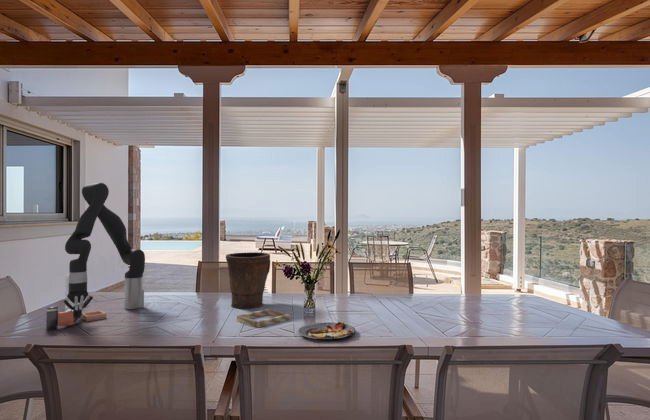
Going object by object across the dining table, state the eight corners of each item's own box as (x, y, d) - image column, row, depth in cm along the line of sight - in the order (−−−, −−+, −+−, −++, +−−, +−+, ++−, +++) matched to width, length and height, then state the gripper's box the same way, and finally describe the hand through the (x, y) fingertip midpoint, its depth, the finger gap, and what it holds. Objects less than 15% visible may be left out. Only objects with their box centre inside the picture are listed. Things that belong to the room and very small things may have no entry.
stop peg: (56, 327, 181) (56, 305, 181) (59, 329, 178) (59, 307, 178) (45, 329, 178) (45, 307, 178) (47, 331, 175) (47, 308, 175)
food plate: (352, 326, 183) (352, 318, 183) (358, 342, 160) (358, 333, 160) (299, 328, 182) (299, 320, 182) (297, 344, 159) (297, 336, 159)
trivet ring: (268, 313, 208) (268, 308, 208) (290, 319, 196) (290, 314, 196) (235, 320, 193) (235, 315, 193) (257, 327, 180) (257, 322, 180)
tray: (100, 315, 204) (100, 310, 204) (106, 318, 197) (106, 313, 197) (80, 318, 197) (80, 313, 197) (86, 321, 191) (86, 316, 191)
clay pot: (282, 302, 234) (282, 252, 234) (248, 312, 209) (248, 256, 210) (251, 297, 247) (251, 250, 248) (216, 306, 223) (216, 254, 223)
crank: (66, 319, 190) (66, 307, 190) (80, 318, 192) (80, 306, 192) (58, 326, 179) (58, 313, 179) (73, 324, 181) (73, 312, 181)
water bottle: (73, 317, 199) (73, 268, 199) (61, 317, 200) (62, 268, 200) (85, 313, 207) (86, 266, 208) (74, 312, 208) (75, 266, 209)
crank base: (79, 319, 195) (79, 317, 195) (84, 322, 189) (84, 320, 189) (58, 322, 189) (58, 320, 189) (63, 326, 183) (63, 324, 183)
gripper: (91, 278, 193) (90, 313, 193) (59, 282, 183) (59, 318, 183) (96, 280, 188) (95, 316, 188) (63, 284, 178) (63, 321, 178)
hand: (77, 317), depth 185 cm, fingers closed
